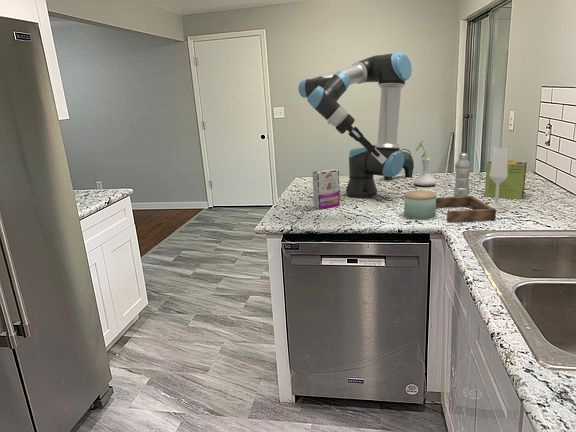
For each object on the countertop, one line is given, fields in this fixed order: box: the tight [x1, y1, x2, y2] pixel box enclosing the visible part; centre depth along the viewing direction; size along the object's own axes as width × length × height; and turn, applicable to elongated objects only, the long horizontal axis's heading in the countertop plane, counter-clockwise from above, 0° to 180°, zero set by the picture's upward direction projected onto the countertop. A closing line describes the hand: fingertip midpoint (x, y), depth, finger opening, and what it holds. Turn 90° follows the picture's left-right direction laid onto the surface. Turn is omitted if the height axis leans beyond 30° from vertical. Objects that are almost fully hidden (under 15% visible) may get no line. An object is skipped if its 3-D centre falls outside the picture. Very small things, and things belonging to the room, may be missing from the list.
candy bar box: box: [312, 168, 341, 210], centre depth 195 cm, size 11×5×16 cm, turn 117°
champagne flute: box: [487, 147, 508, 209], centre depth 180 cm, size 7×7×24 cm
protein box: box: [484, 159, 528, 200], centre depth 198 cm, size 10×15×16 cm
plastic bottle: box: [453, 152, 471, 197], centre depth 199 cm, size 6×7×20 cm
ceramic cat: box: [383, 143, 415, 182], centre depth 249 cm, size 20×6×20 cm, turn 114°
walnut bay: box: [436, 195, 497, 223], centre depth 175 cm, size 18×23×4 cm
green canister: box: [403, 190, 437, 220], centre depth 175 cm, size 12×12×9 cm
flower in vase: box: [413, 137, 437, 187], centre depth 226 cm, size 13×11×25 cm
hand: (384, 161), depth 173 cm, fingers closed
